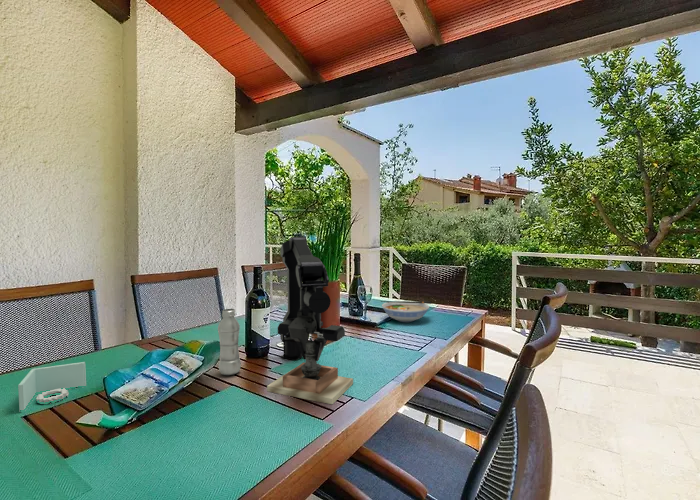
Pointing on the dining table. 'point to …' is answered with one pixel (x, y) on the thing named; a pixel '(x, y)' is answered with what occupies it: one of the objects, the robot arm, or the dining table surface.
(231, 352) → the plastic bottle
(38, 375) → the right angle wall
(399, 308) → the ramen bowl
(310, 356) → the salt shaker
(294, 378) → the shaker holder
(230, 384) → the dining table surface
